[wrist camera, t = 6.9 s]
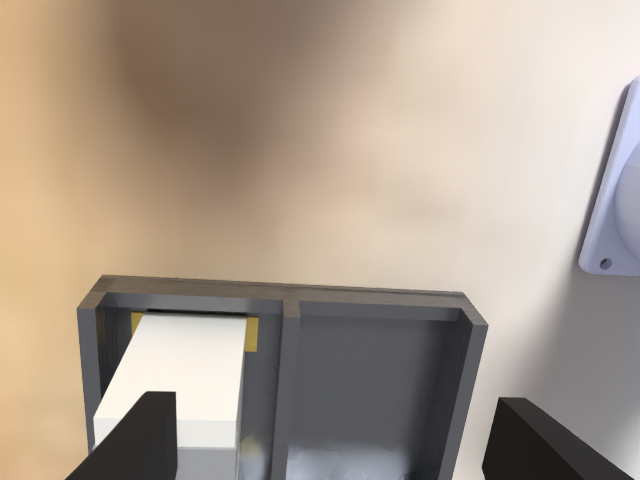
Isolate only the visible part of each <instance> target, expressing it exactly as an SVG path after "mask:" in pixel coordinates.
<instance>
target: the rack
mask: <svg viewBox="0 0 640 480" xmlns="http://www.w3.org/2000/svg"><path fill="white" fill-rule="evenodd" d="M144 312H157V313H180V314H202V315H225V316H247V324H246V342H245V361H244V380H243V398H242V417H241V436H240V455H239V471H238V480H452V476H453V472H454V468H455V463H456V459H457V455H458V451H459V447H460V443H461V438H462V434H463V430H464V426H465V422H466V417H467V413H468V409H469V405H470V401H471V397H472V392H473V388H474V384H475V380H476V376H477V372H478V367H479V363H480V359H481V355H482V351H483V347H484V342H485V338H486V334H487V330H488V326H489V325H488V324H487V322H486V321H485V320H484V319H483V317H482V316H481V315H480V314H479V312H478V311H477V310H476V308H475V307H474V306H473V305H472V303H471V302H470V301H469V299H468V298H467V297H466V296H465V294H464V293H463V292H446V291H425V290H405V289H384V288H363V287H343V286H322V285H302V284H281V283H260V282H240V281H219V280H198V279H178V278H157V277H137V276H116V275H102V276H101V277H100V279H99V280H98V281H97V283H96V284H95V285H94V286H93V288H92V289H91V290H90V292H89V293H88V294H87V295H86V297H85V298H84V299H83V301H82V302H81V303H80V305H79V306H78V307H77V319H78V331H79V343H80V355H81V367H82V379H83V391H84V403H85V415H86V427H87V439H88V451H89V454H90V453H91V452H92V451H93V446H94V444H95V433H94V420H93V417H94V415H95V413H96V411H97V409H98V407H99V405H100V403H101V401H102V399H103V397H104V395H105V393H106V391H107V389H108V387H109V384H110V382H111V380H112V378H113V376H114V374H115V372H116V370H117V368H118V366H119V364H120V362H121V360H122V358H123V356H124V354H125V352H126V349H127V347H128V345H129V343H130V341H131V339H132V337H133V335H134V333H135V331H136V329H137V327H138V325H139V323H140V321H141V319H142V317H143V314H144Z"/></svg>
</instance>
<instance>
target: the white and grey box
mask: <svg viewBox="0 0 640 480" xmlns="http://www.w3.org/2000/svg"><path fill="white" fill-rule="evenodd" d="M246 324H247V316H225V315H202V314H180V313H157V312H144V314H143V317H142V319H141V321H140V323H139V325H138V327H137V329H136V331H135V333H134V335H133V337H132V339H131V341H130V343H129V345H128V347H127V349H126V352H125V354H124V356H123V358H122V360H121V362H120V364H119V366H118V368H117V370H116V372H115V374H114V376H113V378H112V380H111V382H110V384H109V387H108V389H107V391H106V393H105V395H104V397H103V399H102V401H101V403H100V405H99V407H98V409H97V411H96V413H95V415H94V417H93V420H94V433H95V444H94V446H93V450H94V449H95V448H96V447H97V446H98V445H99V444H100V443H101V442H102V441H103V439H104V438H105V437H106V436H107V435H108V434H109V433H110V432H111V431H112V429H113V428H114V427H115V426H116V425H117V424H118V423H119V421H120V420H121V419H122V418H123V417H124V416H125V415H126V413H127V412H128V411H129V410H130V409H131V407H132V406H133V405H134V404H135V403H136V401H137V400H138V399H139V398H140V397H141V395H143V394H144V393H145V392H146V391H175V392H176V415H177V455H178V468H177V473H176V479H175V480H238V471H239V455H240V436H241V417H242V398H243V380H244V361H245V342H246Z"/></svg>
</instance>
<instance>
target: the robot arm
mask: <svg viewBox="0 0 640 480" xmlns="http://www.w3.org/2000/svg"><path fill="white" fill-rule="evenodd" d="M604 259H606V262H605V263H604V264H603V265H602V266H600V263H601V261H602V260H604ZM579 266H580V268H581V269H582V270H584V271H585V272H586V273H589V274H602V275H621V276H639V277H640V75H638V76H637V77H636V78H635V79H634V80H633V81H632V83H631V85H630V88H629V92H628V95H627V98H626V102H625V105H624V108H623V112H622V115H621V119H620V122H619V125H618V129H617V132H616V136H615V139H614V142H613V146H612V149H611V152H610V156H609V159H608V163H607V166H606V169H605V173H604V176H603V180H602V183H601V186H600V190H599V193H598V196H597V200H596V203H595V207H594V210H593V213H592V217H591V220H590V224H589V227H588V230H587V234H586V237H585V240H584V244H583V247H582V251H581V254H580V257H579ZM177 468H178V455H177V415H176V392H175V391H146V392H145V393H144V394H143V395H141V397H140V398H139V399H138V400H137V401H136V403H135V404H134V405H133V406H132V407H131V409H130V410H129V411H128V412H127V413H126V415H125V416H124V417H123V418H122V419H121V420H120V421H119V423H118V424H117V425H116V426H115V427H114V428H113V429H112V431H111V432H110V433H109V434H108V435H107V436H106V437H105V438H104V439H103V441H102V442H101V443H100V444H99V445H98V446H97V447H96V448H95V449H94V450H93V451H92V452H91V453H90V454H89V455H88V457H87V458H86V459H85V460H84V461H83V462H82V463H81V464H80V465H79V466H78V467H77V468H76V469H75V470H74V471H73V472H72V473H71V474H70V475H69V476H68V477H67V478H66V479H65V480H175V479H176V473H177ZM482 470H483V473H484V477H485V480H634V479H633V478H632V477H630V476H629V475H627V474H626V473H625V472H623V471H622V470H620V469H619V468H618V467H616V466H615V465H614V464H612V463H611V462H610V461H608V460H607V459H606V458H604V457H603V456H602V455H600V454H599V453H598V452H596V451H595V450H594V449H592V448H591V447H590V446H588V445H587V444H586V443H585V442H583V441H582V440H581V439H579V438H578V437H577V436H575V435H574V434H573V433H571V432H570V431H569V430H568V429H566V428H565V427H564V426H562V425H561V424H560V423H559V422H557V421H556V420H555V419H553V418H552V417H551V416H549V415H548V414H547V413H545V412H544V411H543V410H541V409H540V408H539V407H537V406H536V405H534V404H533V403H532V402H530V401H529V400H527V399H526V398H511V397H499V399H498V403H497V407H496V411H495V415H494V419H493V423H492V427H491V431H490V435H489V439H488V444H487V448H486V452H485V456H484V460H483V464H482Z"/></svg>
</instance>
